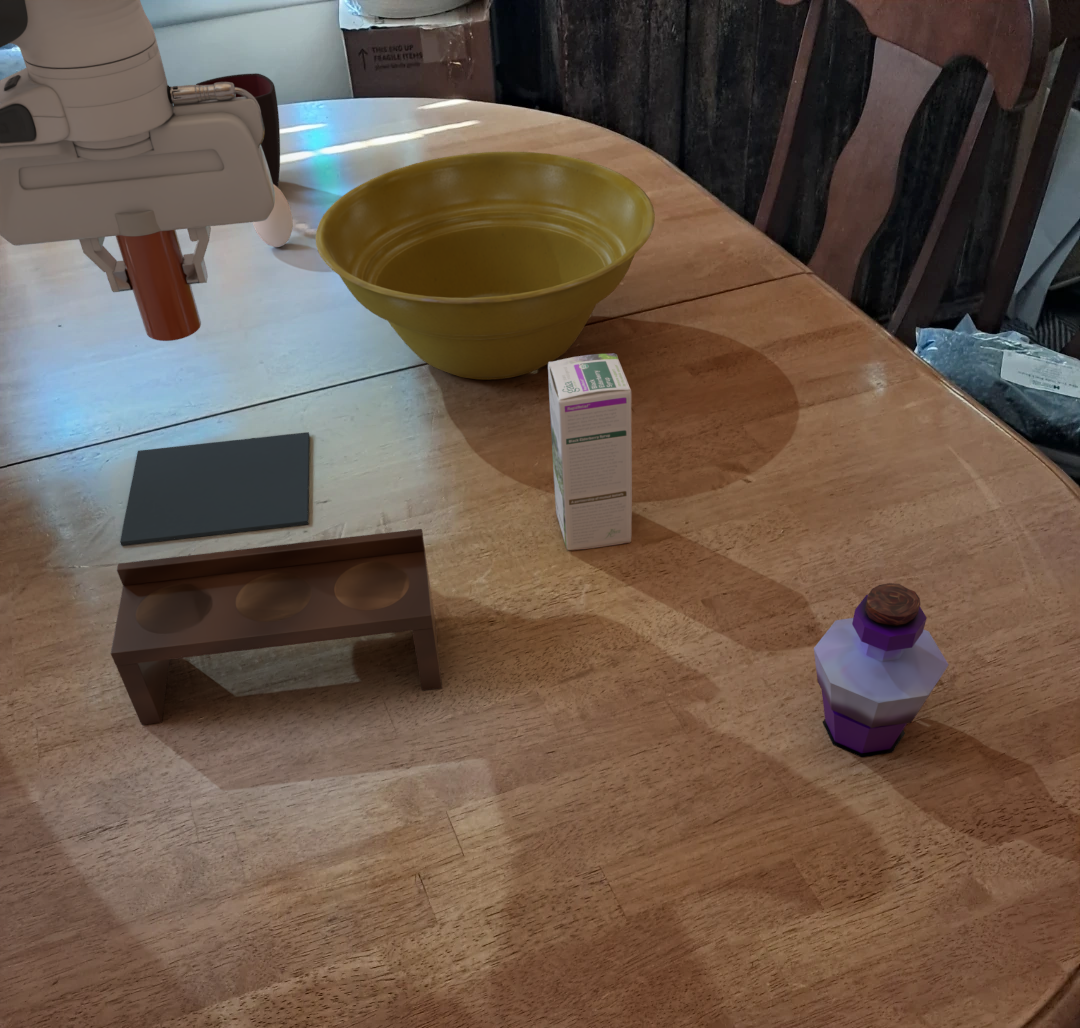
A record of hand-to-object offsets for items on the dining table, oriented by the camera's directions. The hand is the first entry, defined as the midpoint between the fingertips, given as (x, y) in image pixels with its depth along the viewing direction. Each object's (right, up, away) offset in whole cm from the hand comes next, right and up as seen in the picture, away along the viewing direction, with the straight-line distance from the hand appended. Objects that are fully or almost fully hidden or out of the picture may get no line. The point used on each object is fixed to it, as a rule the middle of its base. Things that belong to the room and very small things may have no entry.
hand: (160, 284), depth 90 cm
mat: (+1, -13, +14) cm, 19 cm away
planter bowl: (+25, +5, +29) cm, 39 cm away
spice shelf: (+11, -30, -3) cm, 32 cm away
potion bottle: (+52, -35, -9) cm, 63 cm away
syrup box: (+34, -18, +8) cm, 39 cm away
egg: (-2, +23, +48) cm, 53 cm away
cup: (-7, +34, +59) cm, 68 cm away
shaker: (0, -2, +3) cm, 4 cm away
